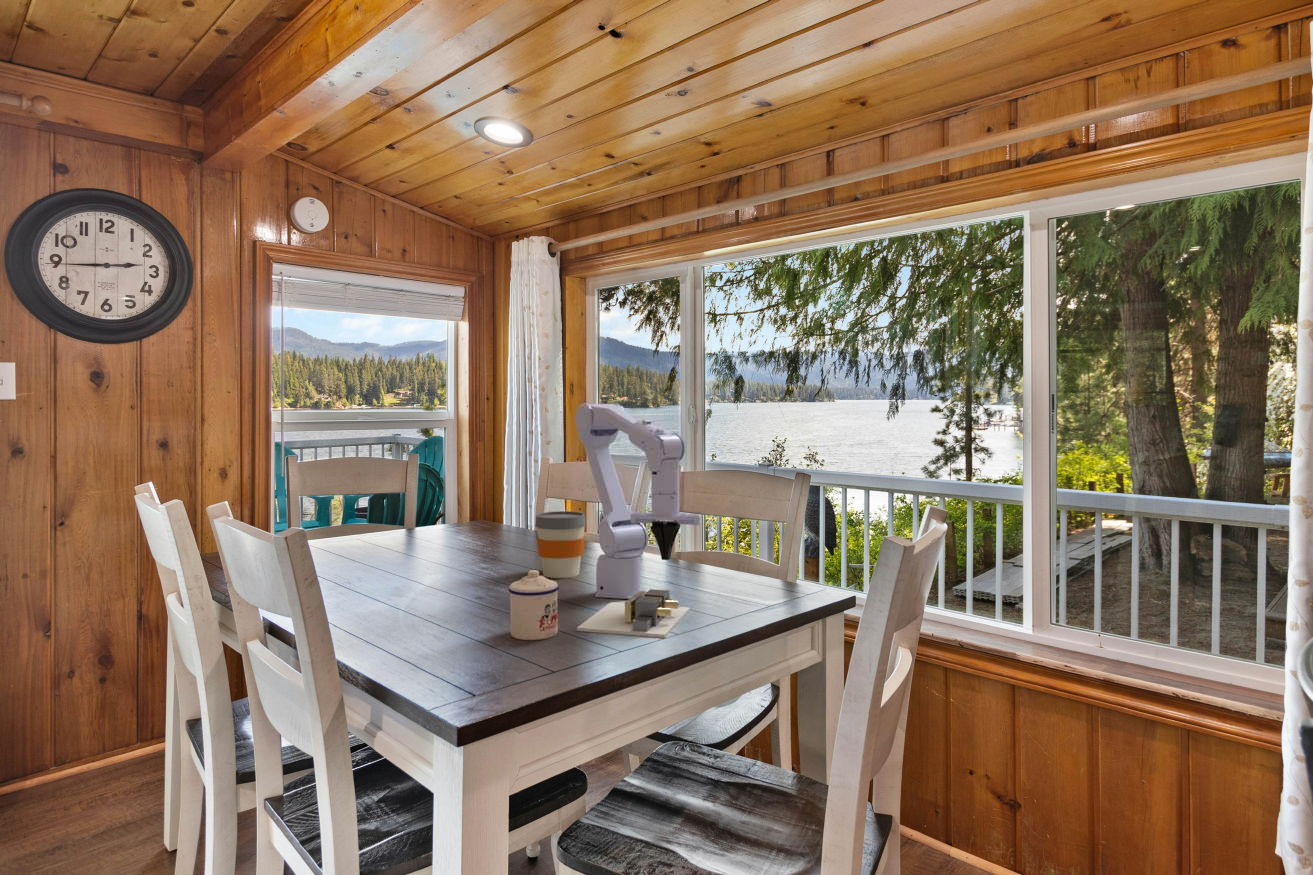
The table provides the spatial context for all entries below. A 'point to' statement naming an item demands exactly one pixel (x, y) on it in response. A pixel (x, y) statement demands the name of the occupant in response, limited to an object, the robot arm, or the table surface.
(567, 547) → the reusable coffee cup
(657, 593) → the dark grey notched block
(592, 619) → the mat
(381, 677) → the table surface
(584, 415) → the robot arm
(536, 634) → the teacup with lid
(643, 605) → the chain end near
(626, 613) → the gold metal bracket
